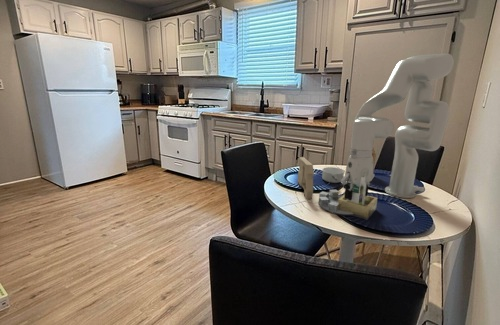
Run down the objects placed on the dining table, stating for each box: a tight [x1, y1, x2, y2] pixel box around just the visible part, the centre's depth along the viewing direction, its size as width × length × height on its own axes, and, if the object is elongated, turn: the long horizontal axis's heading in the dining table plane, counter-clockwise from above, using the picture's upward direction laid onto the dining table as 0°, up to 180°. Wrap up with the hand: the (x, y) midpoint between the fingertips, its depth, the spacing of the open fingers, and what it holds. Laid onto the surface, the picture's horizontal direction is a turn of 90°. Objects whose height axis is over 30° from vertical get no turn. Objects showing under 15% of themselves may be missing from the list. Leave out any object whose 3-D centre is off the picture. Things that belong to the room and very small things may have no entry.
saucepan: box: [321, 166, 346, 184], centre depth 136 cm, size 12×20×6 cm, turn 168°
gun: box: [297, 156, 315, 200], centre depth 125 cm, size 24×3×15 cm, turn 179°
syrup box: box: [347, 176, 367, 205], centre depth 103 cm, size 6×6×14 cm
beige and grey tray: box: [317, 189, 378, 221], centre depth 108 cm, size 21×18×5 cm
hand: (355, 196), depth 103 cm, fingers closed on syrup box, 7 cm apart
